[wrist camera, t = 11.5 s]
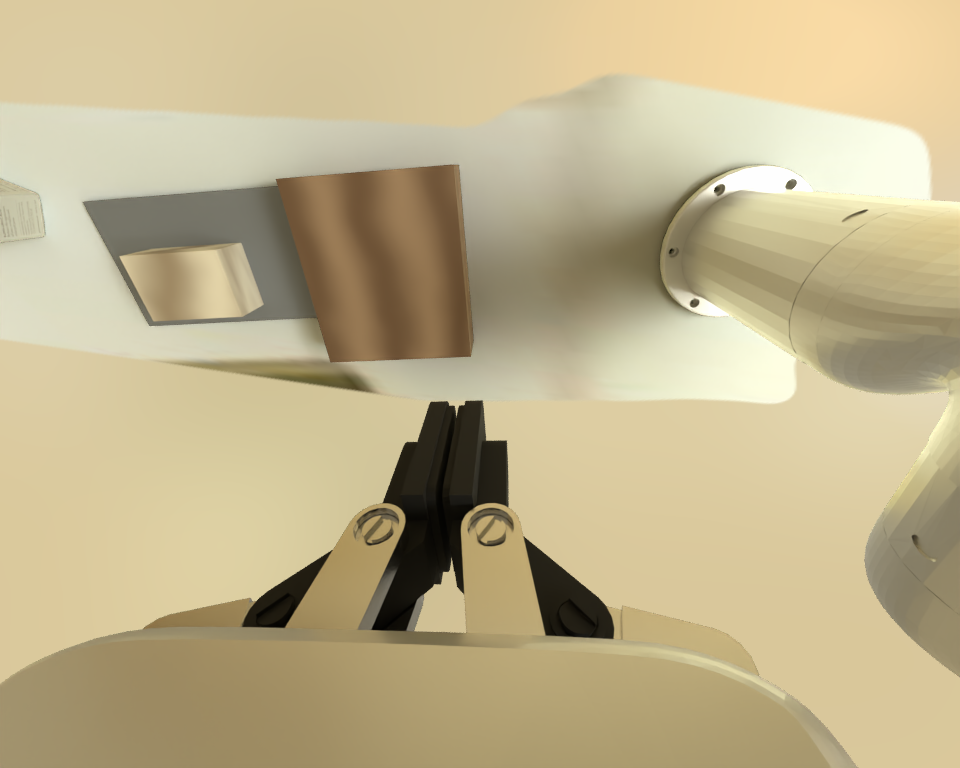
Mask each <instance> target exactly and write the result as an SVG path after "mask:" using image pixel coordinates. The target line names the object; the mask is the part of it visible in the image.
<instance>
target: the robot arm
mask: <svg viewBox="0 0 960 768" xmlns="http://www.w3.org/2000/svg"><path fill="white" fill-rule="evenodd" d="M786 182H787V184H786ZM785 184H786V186H785ZM716 186H717V190H716V191H715V192H714V189H715V187H716ZM671 248H672V252H671V253H669V251H670V249H671ZM660 271H661V276H662V280H663V283H664V285H665V287H666V289H667V291H668V292H669V294H670V295H671V296H672V298H673V299H674V300H675V301H677V302H678V303H679V304H680V305H681V306H683V307H684V308H686V309H687V310H689V311H691V312H694V313H697V314H699V315H703V316H710V317H725V316H732V317H733V318H735V319H736V320H738V321H739V322H741V323H742V324H744V325H746V326H747V327H749V328H750V329H752V330H753V331H755V332H756V333H758V334H759V335H761V336H762V337H764V338H766V339H767V340H769V341H770V342H772V343H773V344H775V345H776V346H778V347H779V348H781V349H782V350H784V351H786V352H787V353H789V354H790V355H792V356H793V357H795V358H796V359H798V360H800V361H801V362H803V363H805V364H806V365H808V366H810V367H811V368H812V369H814V370H816V371H817V372H819V373H820V374H822V375H824V376H825V377H827V378H829V379H831V380H833V381H835V382H836V383H839V384H841V385H844V386H847V387H849V388H852V389H856V390H860V391H865V392H869V393H876V394H892V395H911V394H927V393H938V392H946V391H949V401H948V404H947V407H946V410H945V411H944V414H943V415H942V417H941V419H940V420H939V422H938V424H937V426H936V427H935V429H934V431H933V432H932V434H931V435H930V437H929V440H928V444H927V445H926V447H925V448H924V450H923V451H922V453H921V454H920V456H919V458H918V459H917V460H916V462H915V463H914V465H913V466H912V468H911V469H910V471H909V472H908V474H907V475H906V477H905V478H904V480H903V482H902V483H901V484H900V486H899V487H898V489H897V490H896V492H895V494H894V495H893V496H892V498H891V499H890V501H889V502H888V504H887V505H886V507H885V508H884V511H883V512H882V514H881V515H880V517H879V519H878V520H877V522H876V524H875V526H874V528H873V530H872V532H871V533H870V536H869V539H868V542H867V545H866V551H865V568H866V573H867V577H868V580H869V583H870V585H871V587H872V589H873V591H874V593H875V595H876V597H877V599H878V600H879V602H880V603H881V605H882V606H883V608H884V609H885V610H886V611H887V613H888V614H889V615H890V616H891V618H892V619H894V621H895V622H896V623H897V624H898V625H899V626H900V627H901V628H902V630H903V631H904V632H905V633H906V634H907V635H908V636H910V637H911V639H913V640H914V641H915V642H916V643H917V644H918V645H919V646H920V647H922V648H923V649H924V650H925V651H927V652H928V653H929V654H930V655H931V656H932V657H934V658H935V659H936V660H937V661H939V662H940V663H941V664H942V665H944V666H945V667H947V668H948V669H949V670H950V671H952V672H953V673H955V674H956V675H957V676H959V677H960V202H950V201H932V200H919V199H906V198H893V197H880V196H867V195H854V194H841V193H828V192H815V191H813V190H812V188H811V186H810V185H809V184H808V183H807V182H806V181H805V180H804V179H803V178H802V177H801V176H800V175H798V174H797V173H795V172H793V171H791V170H790V169H786V168H782V167H779V166H772V165H756V166H745V167H742V168H738V169H735V170H731V171H729V172H726V173H724V174H722V175H720V176H718V177H716V178H714V179H712V180H711V181H710V182H708V183H707V184H705V185H704V186H702V187H701V188H699V189H698V190H697V191H696V192H695V193H694V194H693V195H692V196H691V197H690V198H689V199H688V200H687V201H686V202H685V203H684V204H683V206H682V207H681V208H680V209H679V211H678V212H677V213H676V215H675V217H674V218H673V220H672V222H671V223H670V225H669V227H668V230H667V232H666V235H665V237H664V240H663V244H662V248H661V253H660ZM691 300H693V301H692V302H691ZM451 558H452V561H453V567H454V571H455V576H456V582H457V587H458V588H459V589H460V590H461V592H462V593H463V594H464V597H465V615H466V633H450V632H449V633H448V632H415V631H414V630H415V627H416V624H417V621H418V618H419V615H420V612H421V609H422V606H423V601H424V594H425V593H426V592H427V591H428V590H429V589H431V588H432V587H433V585H434V584H441V581H442V575H443V572H449V570H450V565H451ZM0 768H857V766H856V765H855V763H854V762H853V761H852V759H851V758H850V756H849V755H848V754H847V752H846V751H845V750H844V748H843V747H842V746H841V745H840V743H839V742H838V741H837V740H836V738H835V737H834V736H833V735H832V733H831V732H830V731H829V730H828V729H827V728H826V727H825V725H824V724H823V723H822V722H821V721H820V720H819V719H818V718H817V717H816V716H815V715H814V714H813V713H812V712H811V711H810V710H809V709H808V708H807V707H805V706H804V705H803V704H802V703H800V702H799V701H798V700H797V699H795V698H794V697H792V696H791V695H790V694H788V693H787V692H785V691H784V690H782V689H781V688H779V687H777V686H776V685H774V684H772V683H770V682H769V681H767V680H765V679H763V678H761V677H760V676H759V674H758V671H757V668H756V666H755V664H754V662H753V660H752V657H751V656H750V655H749V653H748V652H747V651H746V650H745V649H744V647H743V646H742V645H741V644H740V643H739V642H737V641H736V640H735V639H733V638H732V637H730V636H729V635H728V634H726V633H724V632H721V631H719V630H717V629H714V628H710V627H706V626H702V625H698V624H694V623H690V622H686V621H682V620H678V619H674V618H670V617H666V616H662V615H658V614H654V613H650V612H646V611H641V610H637V609H634V608H630V607H626V606H622V610H619V609H615V608H611V607H607V606H606V605H605V604H604V603H603V602H602V601H601V600H600V599H599V598H598V597H597V596H596V595H594V594H593V593H592V592H591V591H590V590H588V589H587V588H586V587H585V586H583V585H582V584H581V583H580V582H579V581H577V580H576V579H575V578H574V577H572V576H571V575H570V574H569V573H567V572H566V571H565V570H564V569H563V568H562V567H560V566H559V565H558V564H556V563H555V562H554V561H553V560H552V559H551V558H549V557H548V556H547V555H546V554H544V553H543V552H542V551H541V550H540V549H538V548H537V547H536V546H535V545H533V544H532V543H531V542H530V541H529V540H527V539H526V538H525V537H524V536H523V533H522V528H521V524H520V521H519V518H518V516H517V515H516V514H515V513H514V511H513V510H512V509H510V508H508V457H507V441H486V434H485V421H484V408H483V401H465V405H464V406H463V405H461V406H459V408H458V413H457V418H456V411H455V406H449V403H448V401H444V402H431V403H430V405H429V408H428V411H427V414H426V417H425V420H424V423H423V427H422V429H421V433H420V435H419V438H418V442H407V443H405V445H404V447H403V450H402V452H401V455H400V458H399V460H398V463H397V466H396V468H395V471H394V474H393V476H392V479H391V482H390V485H389V487H388V490H387V493H386V496H385V498H384V501H383V503H381V504H376V505H372V506H370V507H367V508H365V509H363V510H362V511H361V512H359V513H358V514H357V515H356V516H355V517H354V518H353V519H352V520H351V522H350V523H349V525H348V526H347V528H346V530H345V531H344V533H343V534H342V536H341V538H340V539H339V541H338V542H337V544H336V546H335V547H334V549H333V550H331V551H330V552H328V553H327V554H325V555H324V556H322V557H321V558H319V559H317V560H316V561H314V562H313V563H311V564H310V565H308V566H307V567H305V568H304V569H302V570H300V571H299V572H297V573H296V574H294V575H292V576H291V577H289V578H288V579H286V580H285V581H283V582H282V583H280V584H278V585H277V586H275V587H274V588H272V589H271V590H269V591H268V592H266V593H265V594H264V595H263V596H261V597H260V598H259V599H258V600H257V601H255V602H253V601H252V600H251V598H247V599H242V600H237V601H232V602H228V603H223V604H218V605H213V606H208V607H203V608H199V609H194V610H190V611H184V612H180V613H175V614H170V615H167V616H164V617H162V618H159V619H157V620H155V621H154V622H152V623H150V624H149V625H147V626H146V627H144V629H142V630H135V631H127V632H123V633H118V634H113V635H109V636H105V637H101V638H96V639H93V640H90V641H87V642H84V643H81V644H79V645H75V646H73V647H70V648H67V649H64V650H61V651H59V652H56V653H54V654H51V655H49V656H47V657H44V658H42V659H40V660H38V661H36V662H34V663H32V664H30V665H28V666H27V667H25V668H23V669H22V670H20V671H18V672H17V673H15V674H13V675H12V676H10V677H9V678H8V679H6V680H5V681H4V682H2V683H1V684H0Z"/></svg>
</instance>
